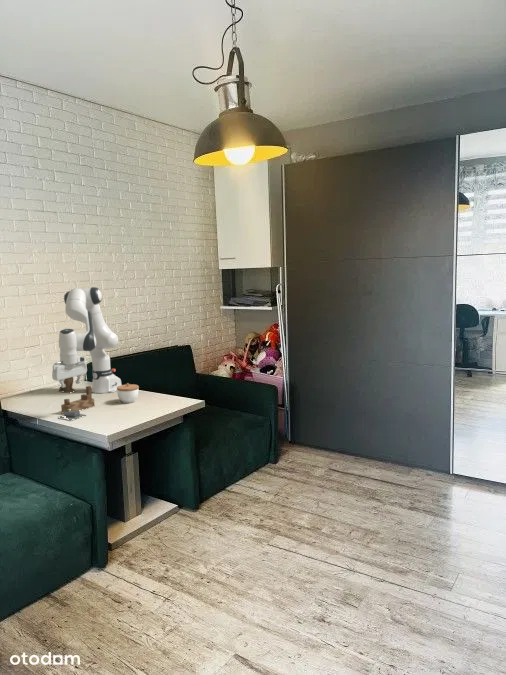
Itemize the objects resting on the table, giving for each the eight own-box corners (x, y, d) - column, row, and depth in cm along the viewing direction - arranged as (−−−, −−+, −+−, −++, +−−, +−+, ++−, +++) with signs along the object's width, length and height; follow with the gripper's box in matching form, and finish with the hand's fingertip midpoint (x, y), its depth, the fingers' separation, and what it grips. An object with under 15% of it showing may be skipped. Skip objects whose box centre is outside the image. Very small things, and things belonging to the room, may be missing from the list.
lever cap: (79, 415, 266) (79, 409, 266) (74, 417, 263) (74, 410, 262) (69, 414, 269) (69, 407, 268) (64, 416, 265) (64, 409, 265)
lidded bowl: (123, 398, 304) (122, 380, 302) (142, 399, 301) (142, 381, 299) (113, 403, 291) (112, 385, 290) (133, 404, 289) (132, 386, 287)
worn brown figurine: (75, 395, 322) (78, 369, 318) (68, 397, 318) (71, 370, 314) (64, 389, 328) (66, 363, 324) (57, 391, 324) (59, 365, 320)
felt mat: (73, 413, 272) (73, 412, 272) (86, 416, 267) (86, 414, 267) (58, 418, 264) (58, 417, 264) (71, 420, 259) (70, 419, 259)
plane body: (87, 404, 289) (86, 385, 288) (94, 406, 286) (93, 386, 285) (61, 412, 274) (60, 392, 272) (69, 414, 271) (67, 393, 269)
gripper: (56, 363, 252) (58, 390, 254) (88, 357, 269) (89, 382, 272) (48, 362, 255) (50, 389, 257) (79, 356, 273) (81, 380, 275)
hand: (70, 385), depth 264 cm, fingers open, 8 cm apart
